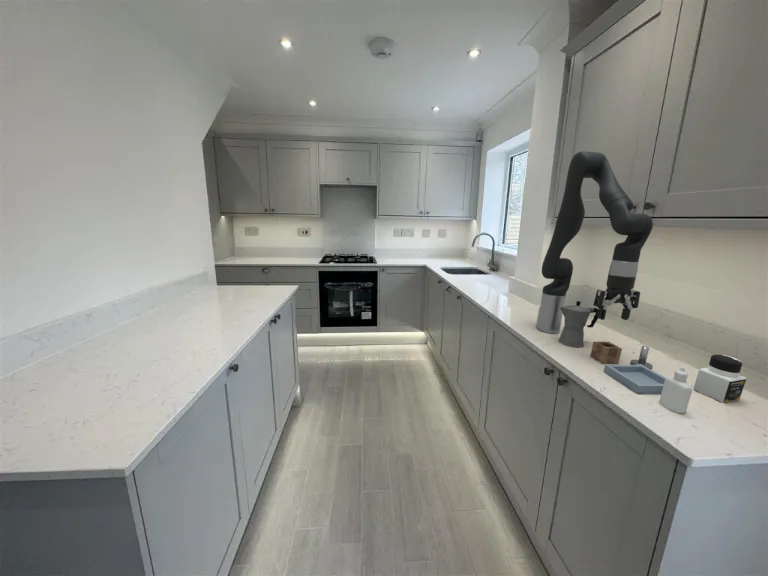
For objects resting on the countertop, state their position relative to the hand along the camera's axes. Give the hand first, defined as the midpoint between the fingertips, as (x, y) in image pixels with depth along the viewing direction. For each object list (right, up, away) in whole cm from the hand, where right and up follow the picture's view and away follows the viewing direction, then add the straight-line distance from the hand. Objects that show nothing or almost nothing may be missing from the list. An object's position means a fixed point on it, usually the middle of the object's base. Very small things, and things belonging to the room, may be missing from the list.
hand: (612, 319), depth 106 cm
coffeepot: (-2, -12, +18) cm, 22 cm away
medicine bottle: (+18, -21, -17) cm, 32 cm away
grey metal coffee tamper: (+10, -16, 0) cm, 19 cm away
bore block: (0, -15, +4) cm, 16 cm away
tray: (0, -19, -11) cm, 22 cm away
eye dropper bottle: (-2, -22, -24) cm, 32 cm away
